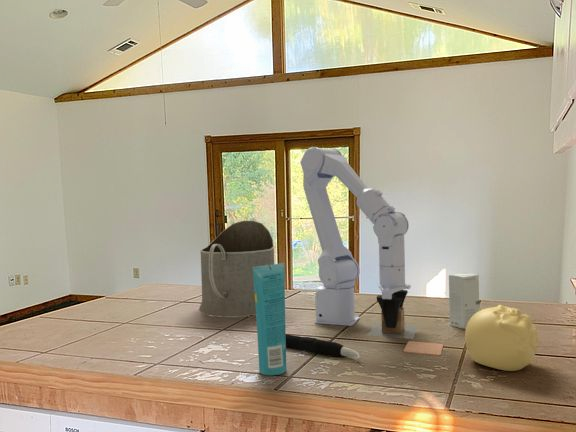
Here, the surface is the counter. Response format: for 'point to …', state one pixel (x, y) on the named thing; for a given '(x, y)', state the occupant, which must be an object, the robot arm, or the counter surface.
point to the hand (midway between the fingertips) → (393, 324)
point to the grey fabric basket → (234, 269)
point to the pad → (423, 348)
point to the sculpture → (501, 338)
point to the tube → (270, 317)
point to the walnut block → (399, 326)
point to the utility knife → (319, 346)
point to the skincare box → (463, 298)
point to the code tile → (407, 333)
